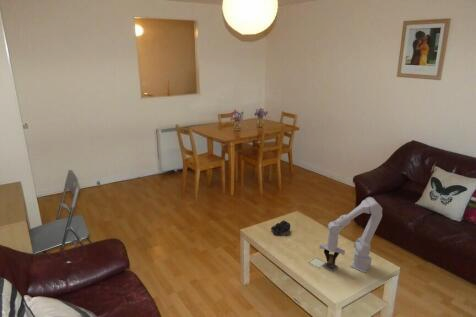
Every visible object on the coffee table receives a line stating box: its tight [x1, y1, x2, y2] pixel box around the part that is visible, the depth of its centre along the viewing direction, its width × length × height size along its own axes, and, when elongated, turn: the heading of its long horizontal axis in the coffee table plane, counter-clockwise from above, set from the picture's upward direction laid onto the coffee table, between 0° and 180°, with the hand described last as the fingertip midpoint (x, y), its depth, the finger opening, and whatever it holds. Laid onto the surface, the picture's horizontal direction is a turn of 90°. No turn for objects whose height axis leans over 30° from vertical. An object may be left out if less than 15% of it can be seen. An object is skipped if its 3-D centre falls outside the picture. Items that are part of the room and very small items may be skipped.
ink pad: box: [322, 263, 339, 273], centre depth 205 cm, size 7×6×1 cm
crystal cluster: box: [270, 219, 292, 237], centre depth 244 cm, size 13×14×10 cm
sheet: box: [306, 256, 327, 270], centre depth 210 cm, size 9×9×1 cm
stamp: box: [326, 253, 336, 268], centre depth 204 cm, size 4×4×7 cm
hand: (330, 261), depth 204 cm, fingers closed on stamp, 3 cm apart
